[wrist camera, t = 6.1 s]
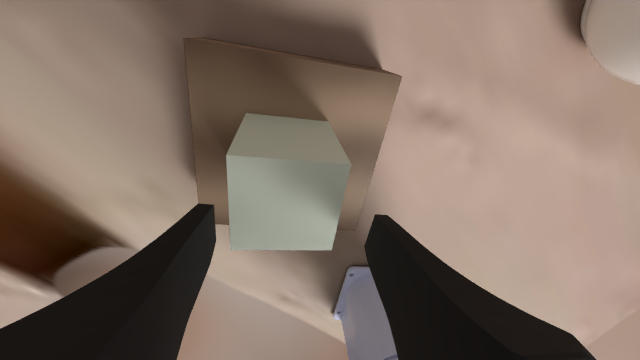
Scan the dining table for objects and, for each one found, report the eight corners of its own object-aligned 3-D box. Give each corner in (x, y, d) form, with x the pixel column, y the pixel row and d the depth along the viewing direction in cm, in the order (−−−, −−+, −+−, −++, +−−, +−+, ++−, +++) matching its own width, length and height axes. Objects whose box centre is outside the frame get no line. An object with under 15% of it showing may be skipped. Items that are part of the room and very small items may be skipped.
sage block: (317, 188, 18) (331, 250, 13) (246, 185, 17) (230, 250, 12) (328, 121, 15) (351, 164, 10) (246, 112, 15) (226, 155, 9)
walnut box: (345, 202, 24) (355, 230, 20) (213, 193, 22) (200, 223, 18) (379, 68, 18) (402, 76, 15) (205, 37, 16) (183, 38, 12)
